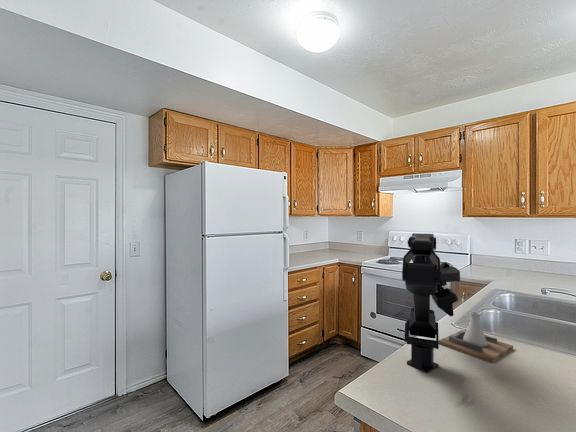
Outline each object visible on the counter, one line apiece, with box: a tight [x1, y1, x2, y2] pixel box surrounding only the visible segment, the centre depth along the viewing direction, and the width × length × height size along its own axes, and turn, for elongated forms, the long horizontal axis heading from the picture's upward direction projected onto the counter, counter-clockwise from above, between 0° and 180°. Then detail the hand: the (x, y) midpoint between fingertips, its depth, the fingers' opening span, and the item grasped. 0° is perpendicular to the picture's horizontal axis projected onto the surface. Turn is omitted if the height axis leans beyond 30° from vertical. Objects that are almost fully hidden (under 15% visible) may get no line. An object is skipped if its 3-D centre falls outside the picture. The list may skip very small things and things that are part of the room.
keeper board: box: [439, 328, 514, 364], centre depth 100 cm, size 16×16×3 cm
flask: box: [463, 310, 488, 346], centre depth 100 cm, size 7×7×10 cm
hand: (445, 308), depth 100 cm, fingers open, 9 cm apart
